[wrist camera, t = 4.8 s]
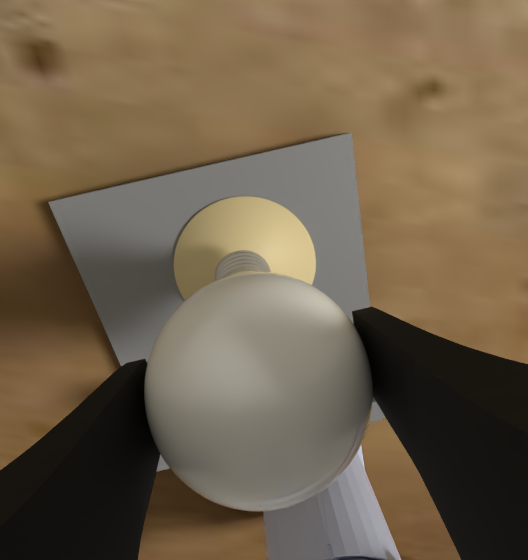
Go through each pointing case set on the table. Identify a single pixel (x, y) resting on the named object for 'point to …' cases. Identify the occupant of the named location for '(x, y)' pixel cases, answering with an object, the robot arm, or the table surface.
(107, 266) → the lamp base
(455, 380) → the robot arm
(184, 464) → the lightbulb
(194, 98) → the table surface
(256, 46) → the table surface
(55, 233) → the table surface
